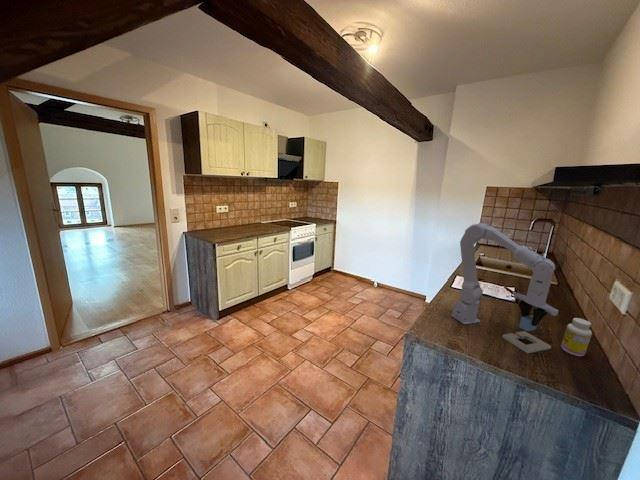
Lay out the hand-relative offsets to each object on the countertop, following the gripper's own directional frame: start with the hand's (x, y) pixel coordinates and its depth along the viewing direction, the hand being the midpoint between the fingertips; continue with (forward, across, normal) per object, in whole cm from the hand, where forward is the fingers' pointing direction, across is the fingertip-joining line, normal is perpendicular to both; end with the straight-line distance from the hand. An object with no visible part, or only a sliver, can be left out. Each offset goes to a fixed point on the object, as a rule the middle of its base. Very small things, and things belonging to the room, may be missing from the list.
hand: (529, 322), depth 99 cm
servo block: (+2, 0, 0) cm, 2 cm away
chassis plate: (+8, -1, 0) cm, 9 cm away
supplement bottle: (+9, -9, -13) cm, 18 cm away
